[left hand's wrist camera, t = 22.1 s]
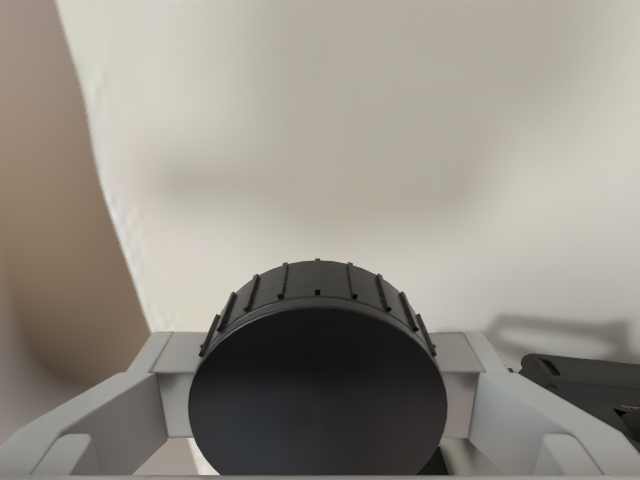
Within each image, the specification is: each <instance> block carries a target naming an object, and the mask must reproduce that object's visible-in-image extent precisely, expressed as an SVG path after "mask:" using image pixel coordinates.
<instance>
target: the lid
mask: <svg viewBox="0 0 640 480" xmlns="http://www.w3.org/2000/svg"><path fill="white" fill-rule="evenodd" d="M198 356H200V357H202V358H201V360H200V363H199V365H198V368H197V370H196V372H195V375H194V377H193V380H192V384H191V387H190V391H189V399H188V415H189V422H190V426H191V431H192V434H193V436H194V439H195V441H196V444H197V446H198V448H199V449H200V451H201V453H202V454H203V456H204V457H205V459H206V460H207V461H208V462H209V464H210V465H211V466H212V467H213V468H214V469H215V470H216V471H217V472H218V473H219V474H220V475H416V474H417V473H418V472H419V471H420V470H421V469H422V468H423V467H424V466H425V464H426V463H427V462H428V461H429V459H430V458H431V457H432V455H433V454H434V452H435V450H436V449H437V447H438V445H439V443H440V441H441V438H442V435H443V433H444V429H445V425H446V420H447V410H448V402H447V393H446V388H445V385H444V381H443V378H442V375H441V373H440V370H439V368H438V366H437V363H436V361H435V358H434V356H437V353H436V351H435V348H434V346H433V344H432V341H431V339H430V337H429V334H428V332H427V330H426V327H425V325H424V323H423V320H422V318H421V316H420V314H417V315H416V314H415V312H414V310H413V308H412V307H411V305H410V304H409V302H408V300H407V297H406V295H405V293H404V292H403V291H402V292H401V293H400V292H399V291H398V290H397V289H395V288H394V287H393V286H392V285H391V284H389V283H388V282H387V281H385V280H384V279H383V278H382V275H380V274H377V275H376V274H373V273H371V272H369V271H367V270H365V269H362V268H359V267H356V266H353V263H350V262H348V264H345V263H340V262H334V261H320V259H315V261H302V262H296V263H291V264H288V263H287V262H286V263H283V265H282V266H280V267H277V268H274V269H272V270H269V271H267V272H265V273H263V274H261V275H258V274H256V275H254V276H253V279H252V280H251V281H249V282H248V283H247V284H245V285H244V286H243V287H242V288H241V289H239V290H238V291H237V292H236V293H234V292H232V293H231V294H230V297H229V299H228V302H227V304H226V306H225V307H224V309H223V310H222V312H221V314H220V315H217V314H216V316H215V318H214V320H213V323H212V325H211V327H210V330H209V332H208V334H207V336H206V339H205V341H204V343H203V346H202V348H201V350H200V353H199V355H198Z"/></svg>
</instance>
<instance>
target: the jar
mask: <svg viewBox="0 0 640 480" xmlns="http://www.w3.org/2000/svg"><path fill="white" fill-rule="evenodd" d="M468 439H469V438H441V441H440V443H439V446H440V449H441V452H442V455H443V458H444V461H445V465H446V468H447V471H448V474H449V475H504V474H503V473H502V472H501V471H500V470H499V469H498V468H497V467H496V466H495V465H494V464H493V463H492V462H491V461H490V460H488V459H487V458H486V457H485V456H484V455H483V454H482V453H481V452H480V451H479V450H478V449H477V448H476V447H475V446H474V445H473V444H472V443H471V442H470V441H469V440H468Z"/></svg>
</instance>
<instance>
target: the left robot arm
mask: <svg viewBox="0 0 640 480" xmlns="http://www.w3.org/2000/svg"><path fill="white" fill-rule="evenodd" d="M207 334H208V332H173V331H170V332H154V333H152V334H151V335H150V337H149V338H148V340H147V341H146V343H145V344H144V346H143V347H142V349H141V350H140V352H139V353H138V355H137V356H136V358H135V359H134V361H133V362H132V364H131V365H130V367H129V368H128V370H127V371H126V373H118V374H116V375H114V376H112V377H111V378H109V379H107V380H105V381H103V382H102V383H100V384H98V385H96V386H94V387H93V388H91V389H89V390H87V391H86V392H84V393H82V394H80V395H79V396H77V397H75V398H73V399H71V400H70V401H68V402H66V403H64V404H62V405H61V406H59V407H57V408H55V409H54V410H52V411H50V412H48V413H46V414H45V415H43V416H41V417H39V418H38V419H36V420H34V421H32V422H31V423H29V424H27V425H25V426H23V427H22V428H20V429H18V430H16V431H15V432H13V433H12V435H11V436H10V437H9V438H8V439H7V440H6V441H5V443H4V444H3V445H2V446H1V447H0V480H640V454H639V452H638V451H637V450H636V449H635V448H634V447H633V445H632V444H631V443H630V442H629V441H628V439H627V438H626V437H625V436H624V435H623V434H622V432H620V431H618V430H616V429H615V428H613V427H611V426H609V425H608V424H606V423H604V422H602V421H601V420H599V419H597V418H595V417H594V416H592V415H590V414H588V413H586V412H585V411H583V410H581V409H579V408H578V407H576V406H574V405H572V404H571V403H569V402H567V401H565V400H564V399H562V398H560V397H558V396H557V395H555V394H553V393H551V392H550V391H548V390H546V389H544V388H543V387H541V386H539V385H537V384H536V383H534V382H532V381H530V380H529V379H527V378H525V377H523V376H522V375H520V374H518V373H510V372H509V370H508V369H507V367H506V365H505V364H504V362H503V361H502V359H501V358H500V356H499V355H498V353H497V352H496V350H495V349H494V347H493V346H492V344H491V343H490V341H489V340H488V338H487V337H486V335H485V334H484V333H483V332H481V331H474V332H448V333H428V334H429V337H430V339H431V341H432V344H433V346H434V348H435V351H436V353H437V356H434V358H435V361H436V363H437V366H438V368H439V370H440V373H441V375H442V378H443V381H444V385H445V388H446V393H447V402H448V410H447V420H446V425H445V429H444V433H443V435H442V438H469V439H468V440H469V441H470V442H471V443H472V444H473V445H474V446H475V447H476V448H477V449H478V450H479V451H480V452H481V453H482V454H483V455H484V456H485V457H486V458H487V459H488V460H490V461H491V462H492V463H493V464H494V465H495V466H496V467H497V468H498V469H499V470H500V471H501V472H502V473H503V474H504V475H132V474H133V473H134V472H135V471H136V470H137V469H138V468H139V467H140V466H141V465H142V464H143V463H144V462H145V461H146V460H147V459H148V458H149V457H151V456H152V455H153V454H154V453H155V452H156V451H157V450H158V449H159V448H160V447H161V446H162V445H163V444H164V443H165V442H166V441H167V438H194V436H193V434H192V431H191V426H190V422H189V415H188V399H189V391H190V387H191V384H192V380H193V377H194V375H195V372H196V370H197V368H198V365H199V363H200V360H201V358H202V357H200V356H198V355H199V353H200V350H201V348H202V346H203V343H204V341H205V339H206V336H207Z"/></svg>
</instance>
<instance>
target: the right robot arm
mask: <svg viewBox="0 0 640 480" xmlns="http://www.w3.org/2000/svg"><path fill="white" fill-rule="evenodd" d="M521 365H522V367H523V368H522V369H521V370H520V372H519V373H518V374H520V375H522V376H523V377H525V378H527V379H529V380H530V381H532V382H534V383H536V384H537V385H539V386H541V387H543V388H544V389H546V390H548V391H550V392H551V393H553V394H555V395H557V396H558V397H560V398H562V399H564V400H565V401H567V402H569V403H571V404H572V405H574V406H576V407H578V408H579V409H581V410H583V411H585V412H586V413H588V414H590V415H592V416H594V417H595V418H597V419H599V420H601V421H602V422H604V423H606V424H608V425H609V426H611V427H613V428H615V429H616V430H618V431H620V432H622V434H623V435H624V436H625V437H626V438H627V439H628V441H629V442H630V443H631V444H632V445H633V447H634V448H635V449H636V450H637V451H638V452H639V454H640V408H639V409H633V408H630V409H627V408H624V407H621V406H618V405H627V406H637V407H640V365H638V364H628V363H619V362H609V361H599V360H590V359H580V358H571V357H561V356H551V355H542V354H528V355H526V356H525V357H523V359H522V360H521ZM507 369H508V370H509V372H510V373H514V371H513V370H512V369H511V368H507ZM596 402H597V403H596ZM615 404H617V405H615ZM416 475H449V474H448V471H447V468H446V465H445V461H444V458H443V455H442V452H441V449H440V446H438V447H437V449H436V450H435V452H434V454H433V455H432V457H431V458H430V459H429V461H428V462H427V463H426V464H425V466H424V467H423V468H422V469H421V470H420V471H419V472H418V473H417V474H416Z"/></svg>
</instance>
